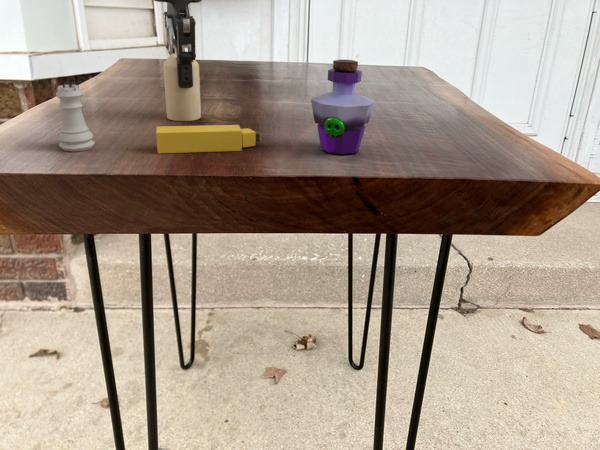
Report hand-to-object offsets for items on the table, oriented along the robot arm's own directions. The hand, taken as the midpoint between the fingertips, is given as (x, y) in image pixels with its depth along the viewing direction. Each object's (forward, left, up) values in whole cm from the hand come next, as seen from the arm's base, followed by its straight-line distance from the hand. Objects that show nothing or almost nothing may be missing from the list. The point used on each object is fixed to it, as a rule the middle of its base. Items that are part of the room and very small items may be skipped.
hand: (182, 83), depth 84 cm
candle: (0, 0, -6) cm, 6 cm away
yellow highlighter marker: (+3, -18, -5) cm, 19 cm away
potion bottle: (+21, -20, -6) cm, 30 cm away
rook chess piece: (-14, -15, -6) cm, 22 cm away
